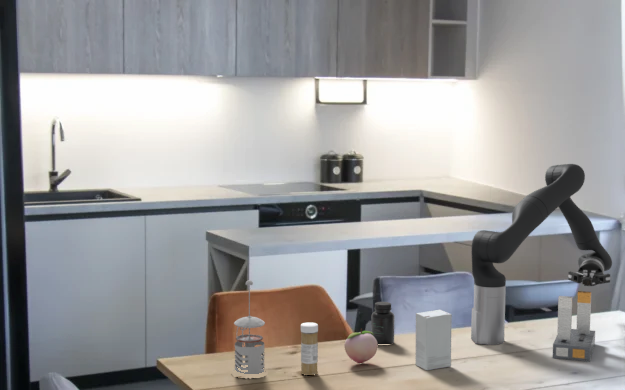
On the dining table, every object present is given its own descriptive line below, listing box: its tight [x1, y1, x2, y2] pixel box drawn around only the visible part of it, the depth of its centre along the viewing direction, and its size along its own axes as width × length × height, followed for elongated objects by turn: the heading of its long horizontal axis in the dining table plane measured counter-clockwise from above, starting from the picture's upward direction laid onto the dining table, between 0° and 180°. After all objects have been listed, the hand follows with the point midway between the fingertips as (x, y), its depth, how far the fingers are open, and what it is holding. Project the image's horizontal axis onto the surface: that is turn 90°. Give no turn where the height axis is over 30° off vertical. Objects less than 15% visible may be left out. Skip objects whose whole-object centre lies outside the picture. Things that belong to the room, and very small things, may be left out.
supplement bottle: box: [370, 301, 395, 345], centre depth 274 cm, size 7×7×12 cm
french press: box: [233, 279, 266, 374], centre depth 243 cm, size 10×12×25 cm
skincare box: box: [415, 309, 453, 371], centre depth 250 cm, size 8×6×15 cm
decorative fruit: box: [344, 328, 379, 364], centre depth 252 cm, size 9×8×10 cm
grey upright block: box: [556, 295, 573, 340], centre depth 262 cm, size 2×4×12 cm, turn 69°
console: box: [552, 328, 596, 363], centre depth 267 cm, size 20×10×4 cm, turn 159°
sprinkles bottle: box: [300, 321, 319, 376], centre depth 243 cm, size 5×5×13 cm
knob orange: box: [576, 290, 592, 334], centre depth 269 cm, size 2×4×12 cm, turn 69°
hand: (586, 282), depth 275 cm, fingers closed
